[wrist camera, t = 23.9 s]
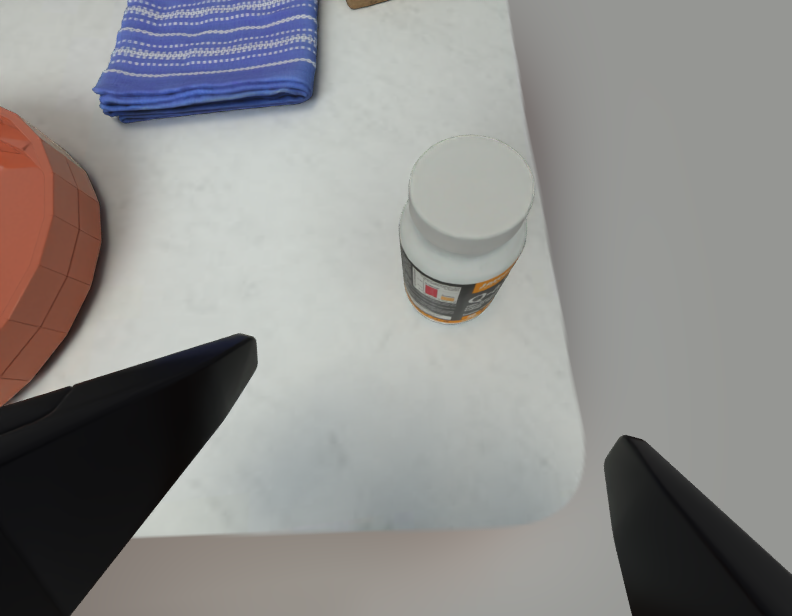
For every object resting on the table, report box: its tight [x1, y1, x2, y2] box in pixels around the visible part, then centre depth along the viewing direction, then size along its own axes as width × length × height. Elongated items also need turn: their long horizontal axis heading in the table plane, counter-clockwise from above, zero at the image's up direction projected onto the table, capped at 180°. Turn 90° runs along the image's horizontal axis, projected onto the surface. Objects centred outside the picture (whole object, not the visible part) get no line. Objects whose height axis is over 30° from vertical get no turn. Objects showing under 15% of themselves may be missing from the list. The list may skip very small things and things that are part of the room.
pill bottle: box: [399, 135, 535, 324], centre depth 17 cm, size 6×6×10 cm
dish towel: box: [92, 0, 318, 123], centre depth 30 cm, size 17×24×3 cm
